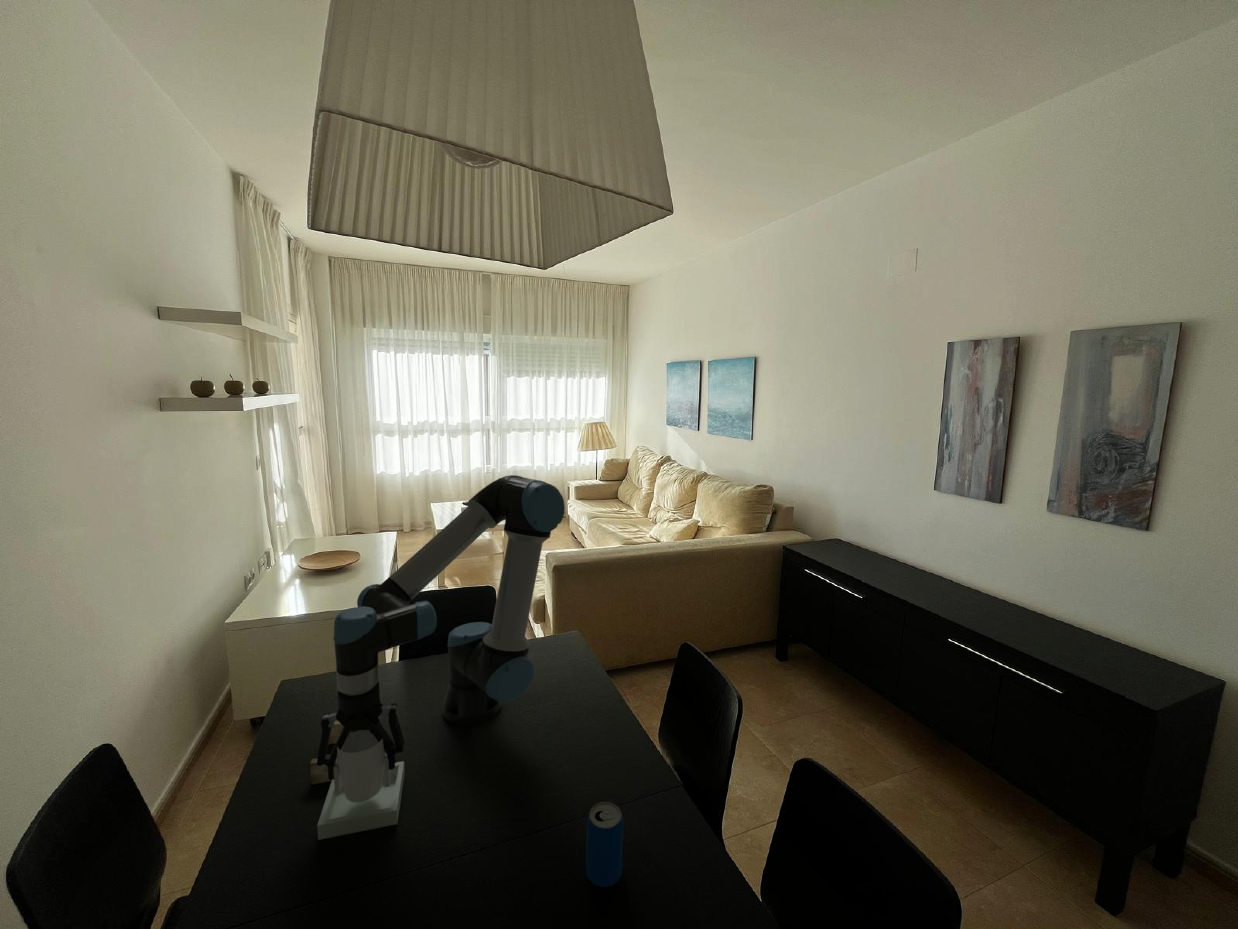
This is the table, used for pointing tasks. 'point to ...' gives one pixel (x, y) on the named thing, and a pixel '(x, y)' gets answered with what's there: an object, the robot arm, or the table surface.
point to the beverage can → (604, 844)
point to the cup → (361, 765)
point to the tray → (362, 808)
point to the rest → (321, 772)
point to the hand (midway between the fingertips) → (363, 786)
